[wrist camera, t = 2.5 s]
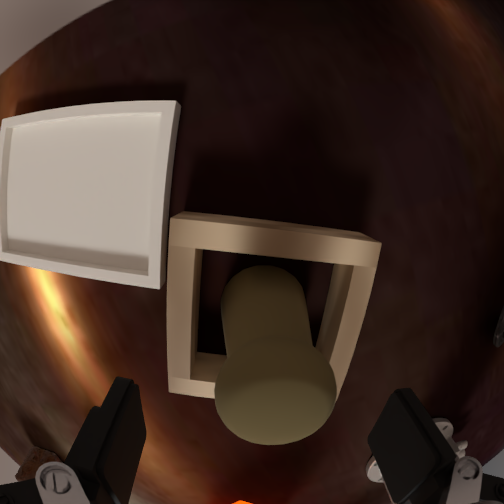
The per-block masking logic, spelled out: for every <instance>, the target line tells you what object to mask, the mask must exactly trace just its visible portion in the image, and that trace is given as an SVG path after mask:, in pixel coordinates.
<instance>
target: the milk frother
mask: <svg viewBox="0 0 504 504" xmlns="http://www.w3.org/2000/svg"><path fill="white" fill-rule="evenodd" d="M503 342H504V305H503V308H502V311H501V314H500V317H499V320H498V324H497V327H496V330H495V333H494V337H493V344H494V345H495V346H496V347H499V346H500V345H502V343H503Z"/></svg>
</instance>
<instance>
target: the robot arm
mask: <svg viewBox="0 0 504 504" xmlns="http://www.w3.org/2000/svg"><path fill="white" fill-rule="evenodd" d="M452 434H453V426H452V424H451V423H450V421H449V420H447V419H446V418H434V419H432V418H431V416H430V415H429V413H428V412H427V411H426V409H425V408H424V406H423V405H422V403H421V402H420V401H419V399H418V398H417V396H416V395H415V394H414V392H413V391H412V390H411V389H410V388H403V389H397V390H395V391H394V393H392V394H391V396H390V397H389V399H388V401H387V403H386V405H385V407H384V409H383V411H382V413H381V415H380V417H379V418H378V420H377V422H376V424H375V426H374V427H373V429H372V431H371V432H370V434H369V436H368V444H369V446H370V449H371V451H372V453H373V456H372V458H371V459H370V460H369V462H368V464H367V466H366V473H367V476H368V478H369V479H370V480H372V481H374V482H384V485H385V487H386V490H387V492H388V495H389V497H390V500H391V502H392V504H504V479H503V478H499V477H495V476H492V475H488V474H484V473H483V471H482V466H481V464H480V463H479V461H477V460H476V459H475V458H472V457H468V456H465V457H464V455H465V451H464V449H465V448H466V447H467V441H466V440H463V441H460V442H458V443H455V442H454V441H453V439H452V438H451V436H452ZM145 440H146V427H145V422H144V416H143V411H142V405H141V399H140V392H139V386H138V385H137V384H134V381H133V380H132V379H127V378H122V377H116V378H115V380H114V382H113V384H112V386H111V388H110V390H109V392H108V394H107V396H106V398H105V400H104V401H103V403H102V405H101V407H98V406H94V407H92V409H91V410H90V412H89V414H88V416H87V418H86V420H85V422H84V423H83V425H82V427H81V429H80V431H79V433H78V435H77V437H76V439H75V441H74V443H73V445H72V448H71V450H70V452H69V454H68V456H67V458H66V460H65V462H64V464H63V463H60V462H48V463H45V464H43V465H42V466H40V467H39V469H38V470H37V472H36V476H35V478H33V479H28V480H24V481H19V482H14V483H10V484H4V485H0V504H128V503H129V499H130V495H131V491H132V487H133V483H134V479H135V476H136V472H137V468H138V465H139V461H140V457H141V454H142V450H143V447H144V443H145Z"/></svg>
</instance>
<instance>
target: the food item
mask: <svg viewBox="0 0 504 504" xmlns="http://www.w3.org/2000/svg"><path fill="white" fill-rule="evenodd" d="M48 462H60V463H63V462H62V461H61V460H60V459H59V458H58V456H57V455H56V454H55V453H52V452H50V451H48V450H44V449H40V448H39V447H33V448H32V449H31V450H30V452H29V454H28V456H27V457H26V459H25V460H24V462H23V464H22V465H21V467H20V468H19V470H18V473H17V474H16V475H15V477H16V479H17V480H18V482H19V481H24V480H28V479H33V478H35V476H36V472H37V470H38V469H39V467H40V466H42V465H43V464H45V463H48Z"/></svg>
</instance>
